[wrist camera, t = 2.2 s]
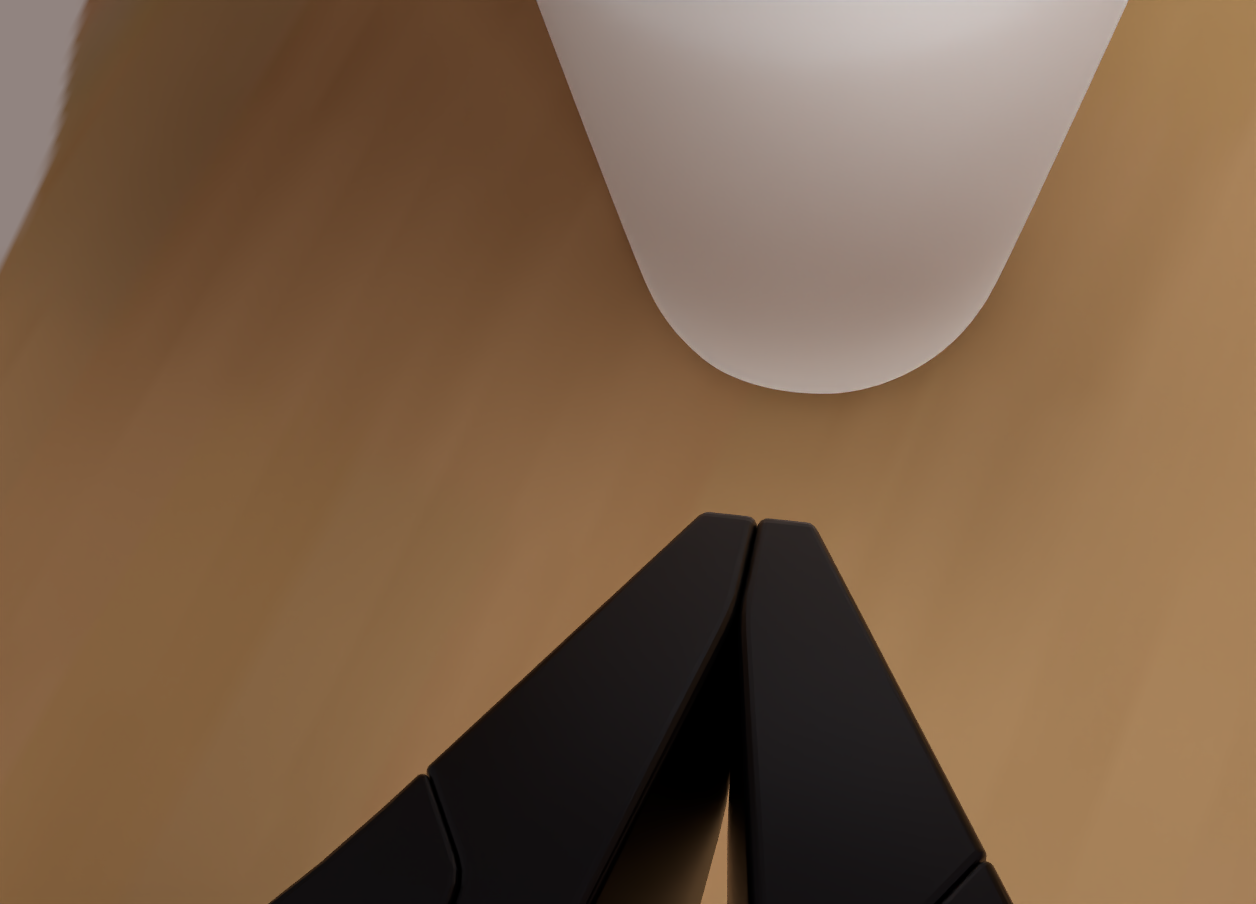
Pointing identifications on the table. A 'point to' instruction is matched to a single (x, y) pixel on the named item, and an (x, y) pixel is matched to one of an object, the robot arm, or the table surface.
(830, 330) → the can
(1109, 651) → the table surface
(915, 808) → the robot arm
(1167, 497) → the table surface
